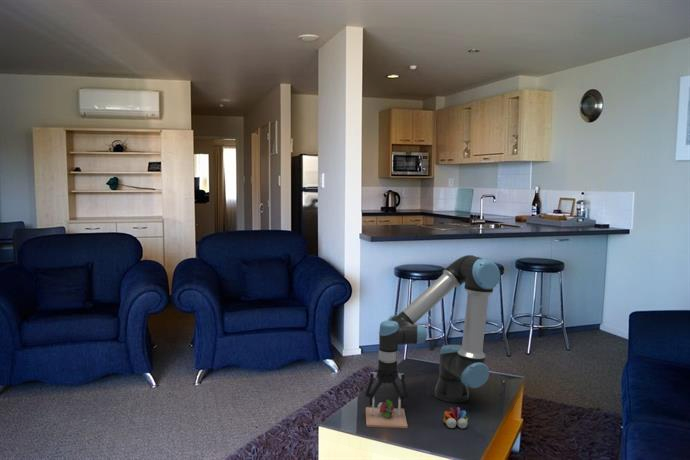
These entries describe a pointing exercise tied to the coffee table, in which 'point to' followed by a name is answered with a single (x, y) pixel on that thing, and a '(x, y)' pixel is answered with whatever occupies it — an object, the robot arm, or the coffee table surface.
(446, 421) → the colourful small pieces
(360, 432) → the coffee table surface
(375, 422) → the tile
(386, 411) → the geometric puzzle
